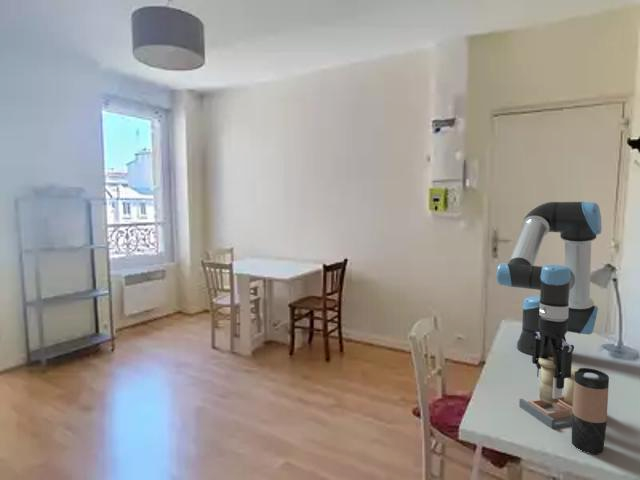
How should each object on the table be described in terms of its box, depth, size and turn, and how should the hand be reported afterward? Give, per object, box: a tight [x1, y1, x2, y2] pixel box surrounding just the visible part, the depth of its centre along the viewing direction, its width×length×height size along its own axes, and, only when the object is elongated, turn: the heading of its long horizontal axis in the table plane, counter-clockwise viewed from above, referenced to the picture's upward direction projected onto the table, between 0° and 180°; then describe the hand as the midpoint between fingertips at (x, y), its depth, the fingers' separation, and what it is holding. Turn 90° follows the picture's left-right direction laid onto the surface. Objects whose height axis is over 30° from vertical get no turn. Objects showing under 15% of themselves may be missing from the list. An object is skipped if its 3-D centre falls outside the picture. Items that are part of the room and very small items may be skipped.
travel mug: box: [571, 367, 610, 455], centre depth 110 cm, size 8×8×20 cm
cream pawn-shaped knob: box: [539, 356, 559, 403], centre depth 126 cm, size 6×6×12 cm
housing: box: [518, 365, 581, 429], centre depth 127 cm, size 13×19×13 cm
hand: (549, 393), depth 126 cm, fingers closed on cream pawn-shaped knob, 5 cm apart
